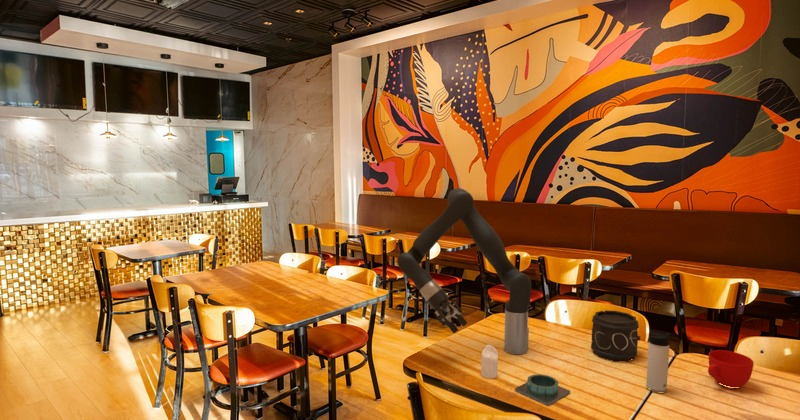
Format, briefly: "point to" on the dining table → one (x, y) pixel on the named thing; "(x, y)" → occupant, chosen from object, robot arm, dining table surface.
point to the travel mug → (658, 361)
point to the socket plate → (543, 399)
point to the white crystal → (489, 362)
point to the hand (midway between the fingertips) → (461, 328)
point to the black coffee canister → (615, 335)
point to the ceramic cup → (730, 368)
